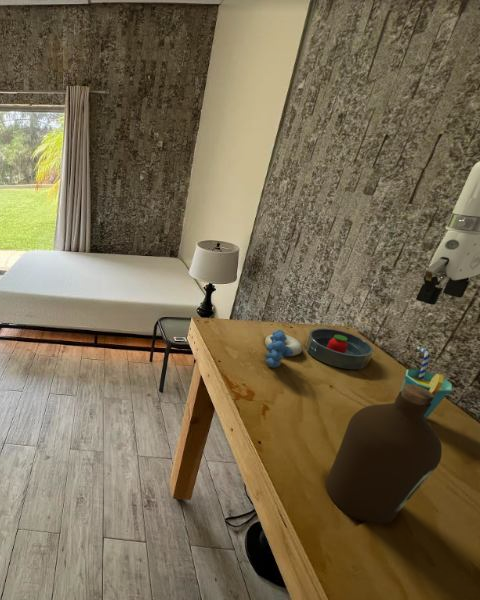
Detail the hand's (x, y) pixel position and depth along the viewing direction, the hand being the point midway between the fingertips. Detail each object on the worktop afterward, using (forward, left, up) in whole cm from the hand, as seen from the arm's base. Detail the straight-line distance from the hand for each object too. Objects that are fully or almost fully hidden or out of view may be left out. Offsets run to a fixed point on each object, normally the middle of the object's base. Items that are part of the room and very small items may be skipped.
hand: (438, 298), depth 73 cm
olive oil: (+41, +17, -26) cm, 51 cm away
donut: (+12, -23, -26) cm, 37 cm away
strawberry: (0, -15, -25) cm, 29 cm away
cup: (+8, +7, -26) cm, 28 cm away
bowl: (0, -15, -26) cm, 30 cm away
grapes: (+22, -17, -26) cm, 38 cm away
